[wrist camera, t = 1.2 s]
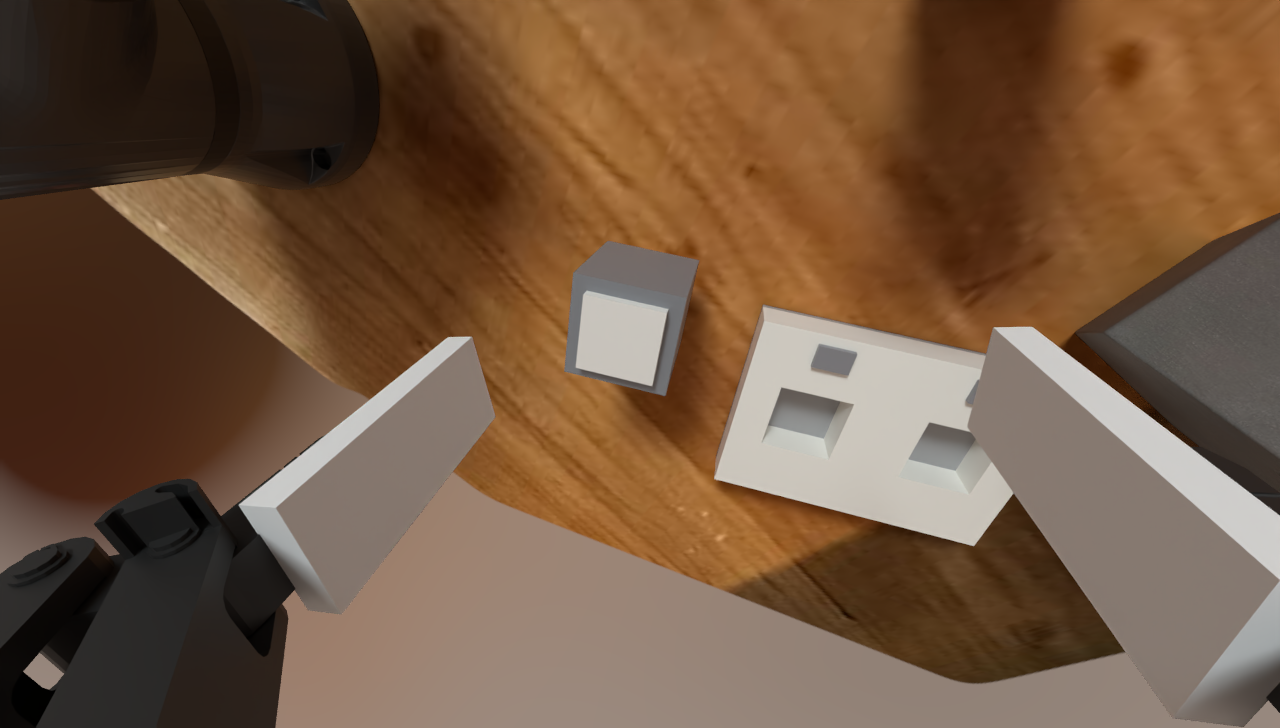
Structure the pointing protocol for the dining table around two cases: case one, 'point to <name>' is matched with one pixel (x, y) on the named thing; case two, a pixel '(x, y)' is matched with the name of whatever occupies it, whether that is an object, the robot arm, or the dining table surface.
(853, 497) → the socket plate
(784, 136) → the dining table surface
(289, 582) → the robot arm
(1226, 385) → the grey hexagonal prism
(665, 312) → the plug
